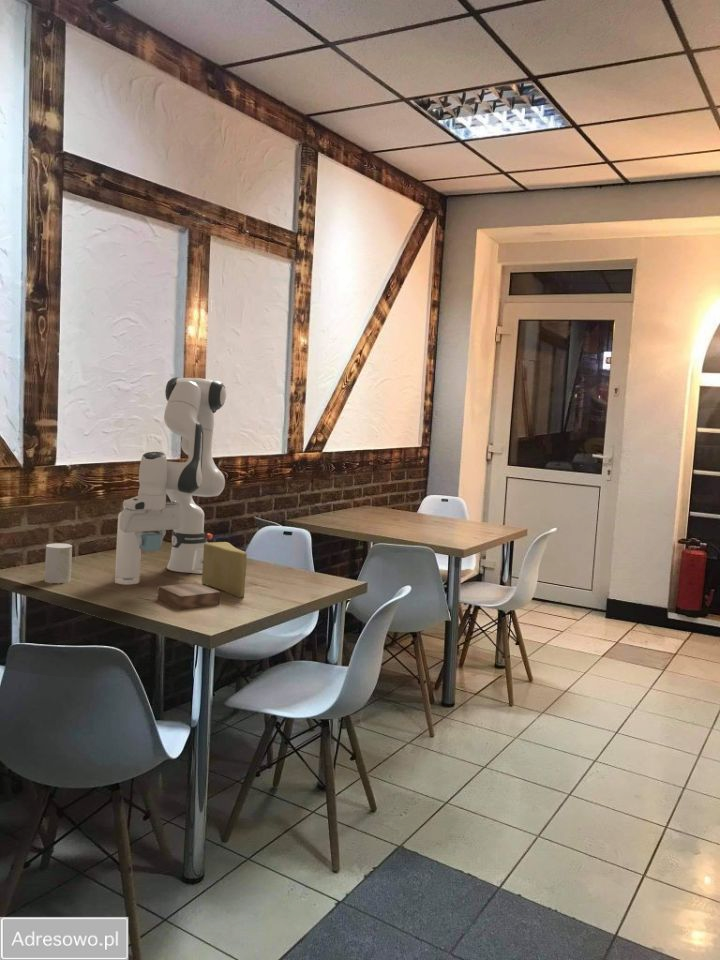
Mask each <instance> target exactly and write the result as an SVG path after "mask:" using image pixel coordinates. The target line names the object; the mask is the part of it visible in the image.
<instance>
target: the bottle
mask: <svg viewBox="0 0 720 960" xmlns="http://www.w3.org/2000/svg"><path fill="white" fill-rule="evenodd" d="M125 500H126V499H124V500H123V502H124V501H125ZM123 509H125V507H123ZM121 512H122V511H121ZM121 512H119V513H118V516H117V530H116V531H117V534H116V549H115V551H116V553H115V571H114V575H115V576H114V583H115V584H118V585H119V584H120V585H137V584H139V583H140V574H141V557H142V549H139V545H138V539H137V538H136V536H135V532H130V533H125V532H123V531H121V529H120V517H121Z"/></svg>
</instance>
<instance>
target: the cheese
mask: <svg viewBox="0 0 720 960" xmlns="http://www.w3.org/2000/svg"><path fill="white" fill-rule="evenodd" d="M247 554H248V553H247V552H246V551H244V550H241V549H240V548H237V547H235V546H233V544H231V543H230V542H227V541H217V542H214V541H213V542H208V543H205V544H204V554H203V570H202V573H201V584H202V585H204V586H207V587H210V588H211V587H212V588H214V589H216V590H220V591H224V592H226V593H227V594H230V595H232V596H235V597H238V598H244V597H245V589H246V588H245V587H246V576H247V556H248V555H247Z"/></svg>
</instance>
